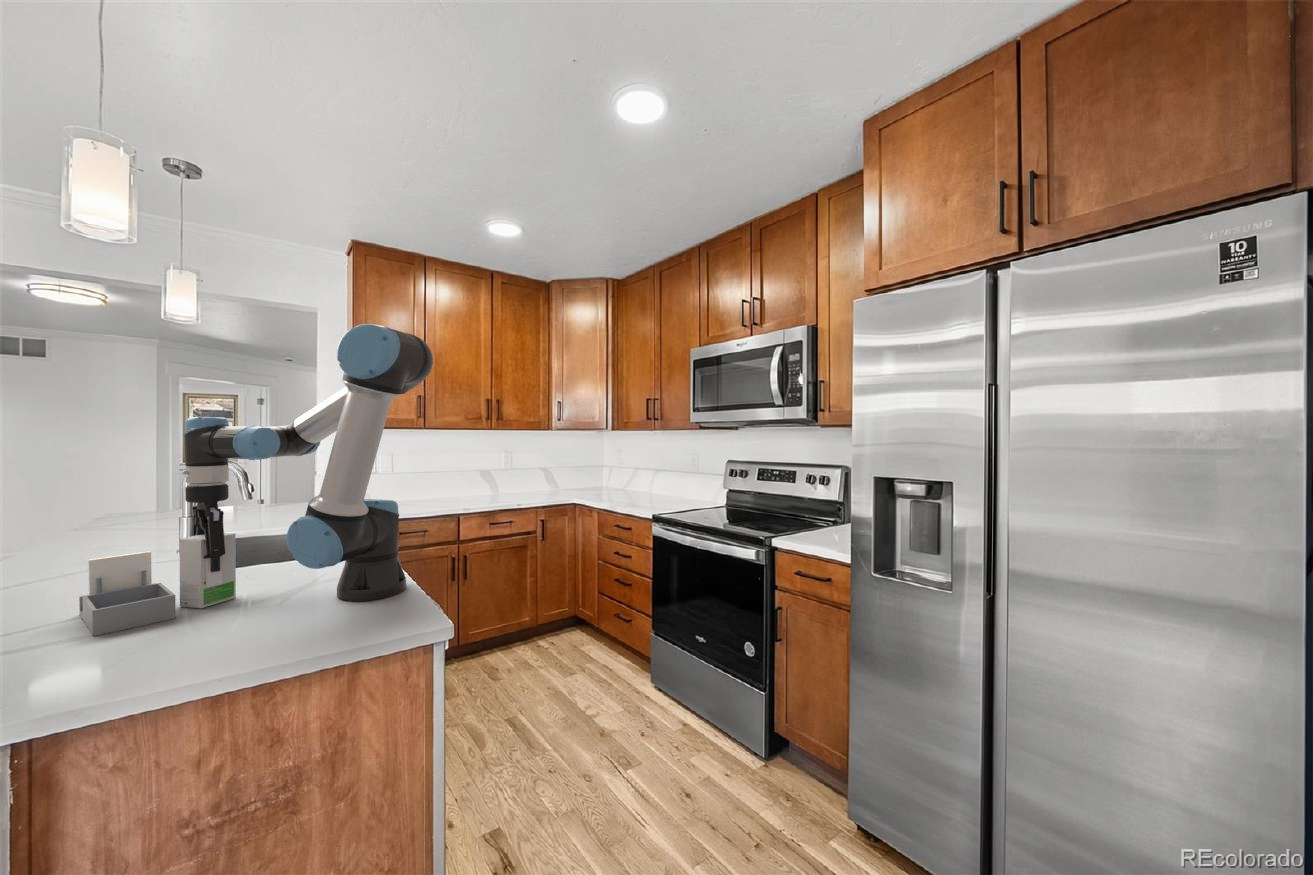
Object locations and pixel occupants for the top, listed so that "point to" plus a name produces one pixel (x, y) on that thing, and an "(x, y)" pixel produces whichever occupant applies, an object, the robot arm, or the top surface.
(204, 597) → the skincare box
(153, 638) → the top surface
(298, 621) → the top surface
